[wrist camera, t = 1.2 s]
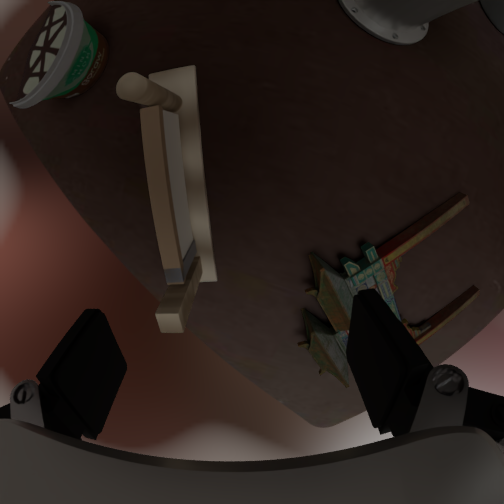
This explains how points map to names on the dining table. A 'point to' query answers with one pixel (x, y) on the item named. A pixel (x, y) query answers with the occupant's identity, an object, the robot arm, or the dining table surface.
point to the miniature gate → (366, 277)
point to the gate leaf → (168, 191)
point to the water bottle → (495, 12)
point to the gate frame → (186, 106)
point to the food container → (62, 57)
